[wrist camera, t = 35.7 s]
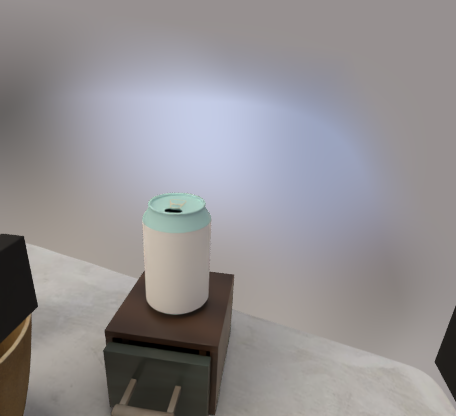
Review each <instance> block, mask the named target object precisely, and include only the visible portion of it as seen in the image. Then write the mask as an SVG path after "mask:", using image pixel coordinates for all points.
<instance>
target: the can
mask: <svg viewBox="0 0 456 416" xmlns="http://www.w3.org/2000/svg"><path fill="white" fill-rule="evenodd" d="M205 204H206V203H205V201H204V200H203V199H202V198H200V197H199V196H196V195H192V194H187V193H167V194H162V195H158V196H155V197H153V198H152V199H151V200H150V201H149V202H148V206H149V207H148V209H147V211H146V212H145V213H144V215H143V218H142V223H143V243H144V264H145V284H146V299H147V302H148V304H149V305H150V306H151V307H152V308H154V309H155V310H157V311H160V312H163V313H166V314H174V315H177V314H185V313H189V312H192V311H194V310H196V309H198V308H200V307H201V306H202V305H203V304H204V303H205V302H206V301H207V299H208V295H209V267H210V266H209V265H210V239H211V215H210V213H209V212H208V210H207V209H206V207H205Z"/></svg>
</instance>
